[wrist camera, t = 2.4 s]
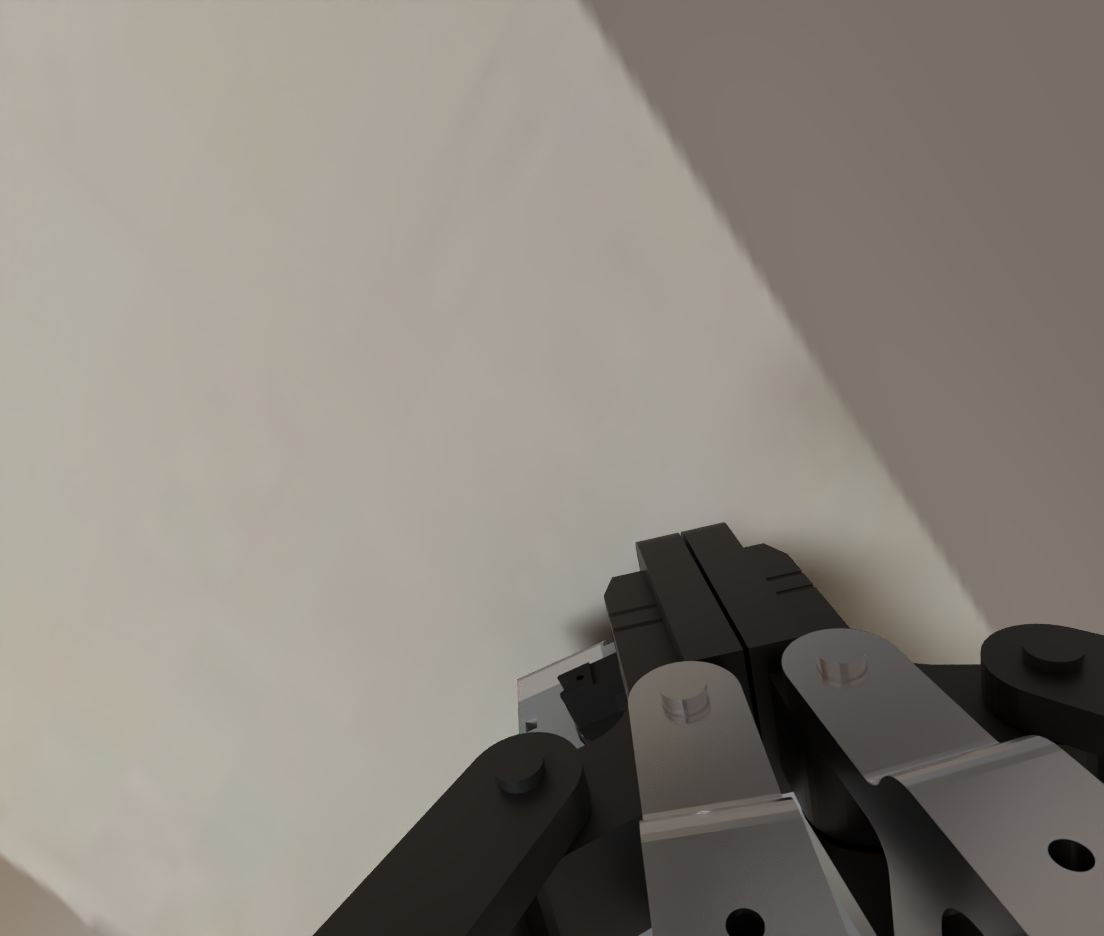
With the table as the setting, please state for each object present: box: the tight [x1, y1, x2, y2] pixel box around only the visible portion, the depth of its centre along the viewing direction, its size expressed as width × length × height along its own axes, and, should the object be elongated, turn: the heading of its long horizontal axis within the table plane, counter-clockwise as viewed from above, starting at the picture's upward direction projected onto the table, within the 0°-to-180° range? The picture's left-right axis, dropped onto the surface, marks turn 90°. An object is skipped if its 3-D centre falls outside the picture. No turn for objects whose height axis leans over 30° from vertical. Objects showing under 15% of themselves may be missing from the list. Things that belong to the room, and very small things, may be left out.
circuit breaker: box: [517, 640, 860, 936], centre depth 25 cm, size 8×14×15 cm, turn 26°
